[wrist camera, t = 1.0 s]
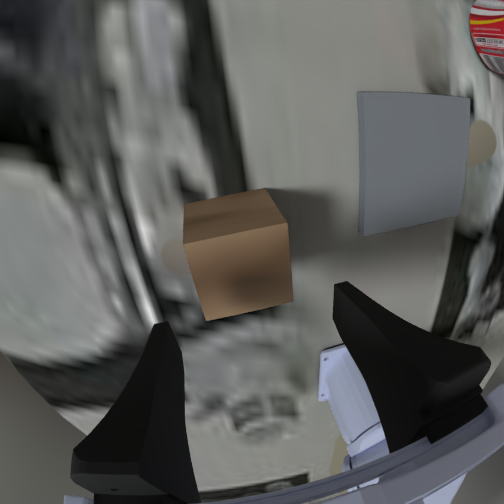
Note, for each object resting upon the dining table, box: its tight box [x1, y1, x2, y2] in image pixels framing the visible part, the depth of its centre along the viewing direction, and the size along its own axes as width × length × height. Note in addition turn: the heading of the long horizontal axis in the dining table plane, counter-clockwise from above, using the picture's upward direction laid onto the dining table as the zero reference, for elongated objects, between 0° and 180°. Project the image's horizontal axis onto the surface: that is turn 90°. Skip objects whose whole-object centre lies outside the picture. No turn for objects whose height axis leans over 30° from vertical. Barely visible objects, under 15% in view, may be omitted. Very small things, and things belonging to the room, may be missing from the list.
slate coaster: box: [357, 91, 470, 237], centre depth 19 cm, size 10×10×1 cm
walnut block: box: [183, 188, 293, 321], centre depth 18 cm, size 5×5×5 cm
